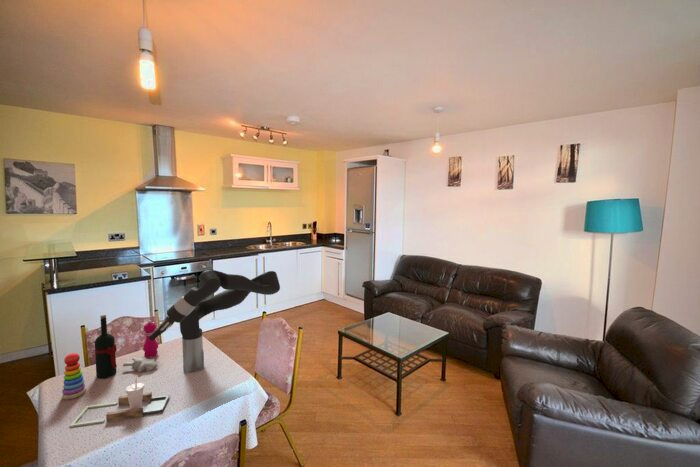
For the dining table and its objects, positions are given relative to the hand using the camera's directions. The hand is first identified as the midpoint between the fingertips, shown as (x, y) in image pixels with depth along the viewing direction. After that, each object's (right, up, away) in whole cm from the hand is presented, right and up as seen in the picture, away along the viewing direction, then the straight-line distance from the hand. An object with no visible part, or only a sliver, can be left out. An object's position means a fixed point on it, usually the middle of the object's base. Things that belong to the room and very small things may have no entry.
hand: (151, 339), depth 132 cm
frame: (-18, -28, -7) cm, 34 cm away
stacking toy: (-37, -27, +5) cm, 46 cm away
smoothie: (-4, -28, -3) cm, 29 cm away
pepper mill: (-27, -23, +42) cm, 55 cm away
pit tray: (+3, -28, -1) cm, 28 cm away
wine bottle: (-35, -25, +21) cm, 48 cm away
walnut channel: (-6, -28, -4) cm, 29 cm away
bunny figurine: (-23, -25, +28) cm, 44 cm away
